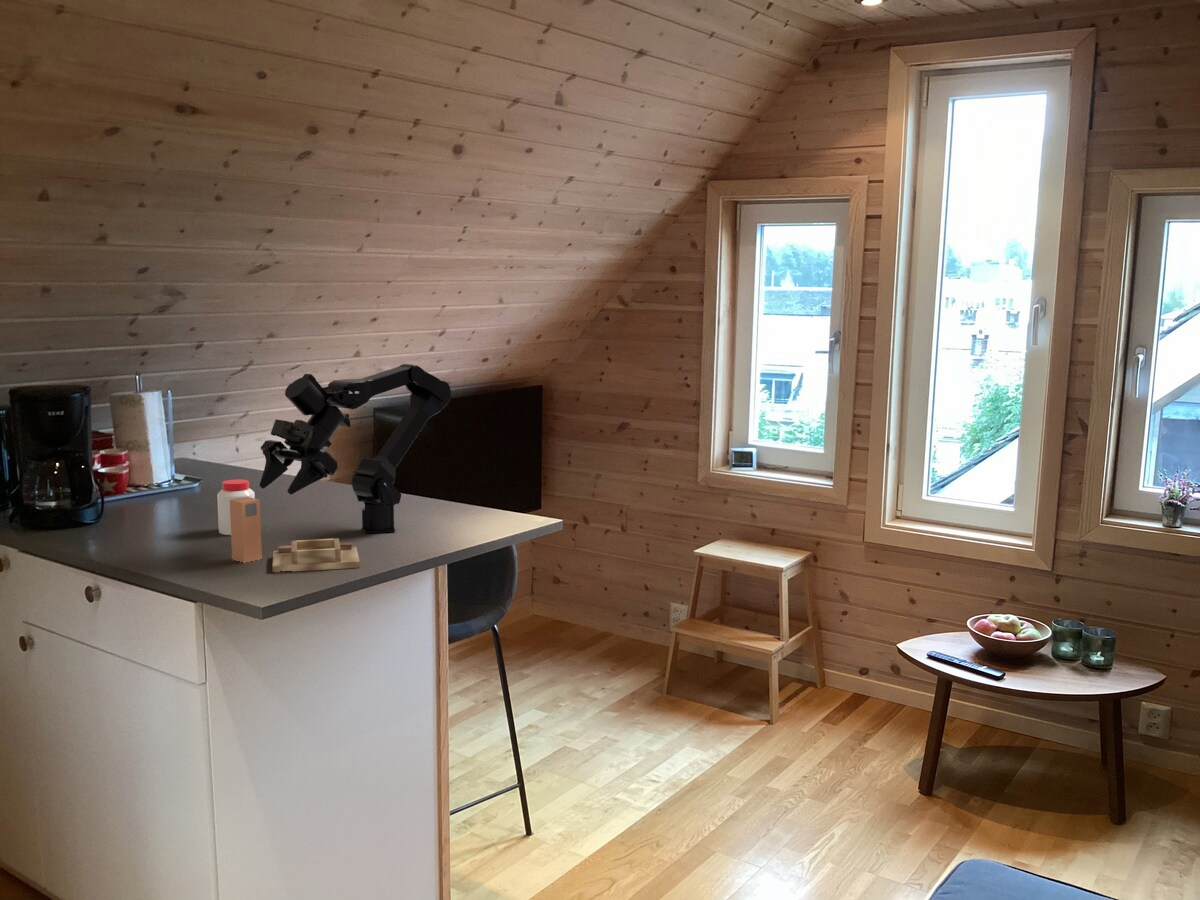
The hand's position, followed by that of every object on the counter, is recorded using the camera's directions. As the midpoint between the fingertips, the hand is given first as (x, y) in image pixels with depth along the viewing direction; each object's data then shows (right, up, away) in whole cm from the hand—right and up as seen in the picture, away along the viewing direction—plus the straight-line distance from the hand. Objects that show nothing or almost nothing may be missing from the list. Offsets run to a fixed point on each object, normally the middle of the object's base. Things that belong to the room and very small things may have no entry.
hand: (275, 490), depth 213 cm
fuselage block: (-4, -14, -4) cm, 15 cm away
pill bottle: (-14, -10, +20) cm, 27 cm away
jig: (+9, -14, -5) cm, 17 cm away
